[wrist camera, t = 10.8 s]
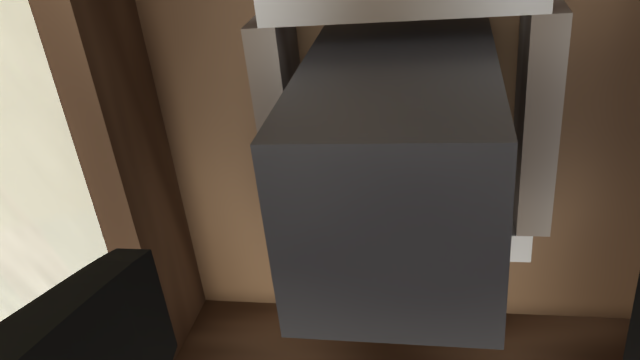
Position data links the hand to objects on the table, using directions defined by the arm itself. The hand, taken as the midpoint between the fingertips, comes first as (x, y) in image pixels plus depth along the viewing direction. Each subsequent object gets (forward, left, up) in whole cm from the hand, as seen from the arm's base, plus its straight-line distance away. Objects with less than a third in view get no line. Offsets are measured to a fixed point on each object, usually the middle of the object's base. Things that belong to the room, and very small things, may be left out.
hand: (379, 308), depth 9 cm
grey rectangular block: (0, 0, -8) cm, 8 cm away
